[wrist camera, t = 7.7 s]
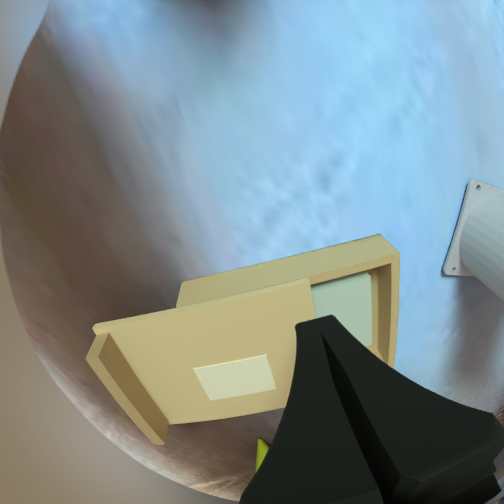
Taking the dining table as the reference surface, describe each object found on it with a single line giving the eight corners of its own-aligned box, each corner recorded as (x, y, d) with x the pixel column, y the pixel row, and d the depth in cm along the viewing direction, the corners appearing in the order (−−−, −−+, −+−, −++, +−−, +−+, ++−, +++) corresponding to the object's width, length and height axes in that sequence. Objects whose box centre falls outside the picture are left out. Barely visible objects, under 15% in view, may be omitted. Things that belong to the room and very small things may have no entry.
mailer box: (380, 233, 21) (399, 252, 18) (381, 347, 25) (393, 370, 22) (182, 282, 21) (175, 307, 18) (226, 385, 26) (226, 412, 23)
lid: (307, 277, 18) (320, 305, 15) (324, 392, 23) (333, 420, 20) (94, 324, 19) (80, 352, 16) (160, 420, 23) (156, 447, 21)
